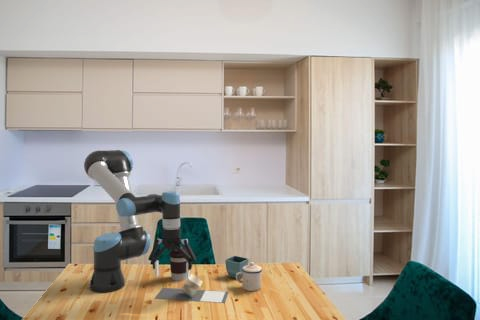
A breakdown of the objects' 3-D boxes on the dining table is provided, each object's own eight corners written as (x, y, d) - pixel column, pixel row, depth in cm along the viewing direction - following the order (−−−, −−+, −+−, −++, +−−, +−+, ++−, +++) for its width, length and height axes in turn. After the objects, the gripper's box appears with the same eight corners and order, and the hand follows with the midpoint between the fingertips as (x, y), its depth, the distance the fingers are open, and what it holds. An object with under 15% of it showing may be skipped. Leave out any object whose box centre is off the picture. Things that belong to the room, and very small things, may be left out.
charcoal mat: (153, 300, 162) (153, 298, 162) (162, 289, 174) (162, 287, 174) (224, 304, 159) (224, 303, 159) (228, 293, 171) (228, 291, 170)
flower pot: (249, 276, 193) (249, 258, 192) (239, 281, 185) (239, 263, 185) (234, 272, 197) (234, 255, 197) (224, 277, 190) (224, 259, 189)
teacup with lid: (260, 283, 183) (260, 259, 182) (263, 291, 174) (263, 265, 173) (234, 284, 182) (235, 259, 181) (236, 291, 173) (236, 266, 172)
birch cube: (180, 289, 164) (188, 278, 163) (184, 284, 169) (191, 273, 169) (192, 298, 163) (199, 286, 163) (195, 292, 169) (202, 281, 168)
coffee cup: (187, 283, 181) (188, 252, 180) (166, 283, 181) (166, 251, 181) (190, 276, 191) (191, 246, 190) (170, 275, 191) (171, 245, 191)
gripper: (140, 229, 163) (141, 278, 164) (198, 230, 161) (199, 280, 161) (146, 225, 171) (147, 273, 172) (202, 226, 168) (202, 274, 169)
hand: (172, 276), depth 166 cm, fingers open, 13 cm apart
